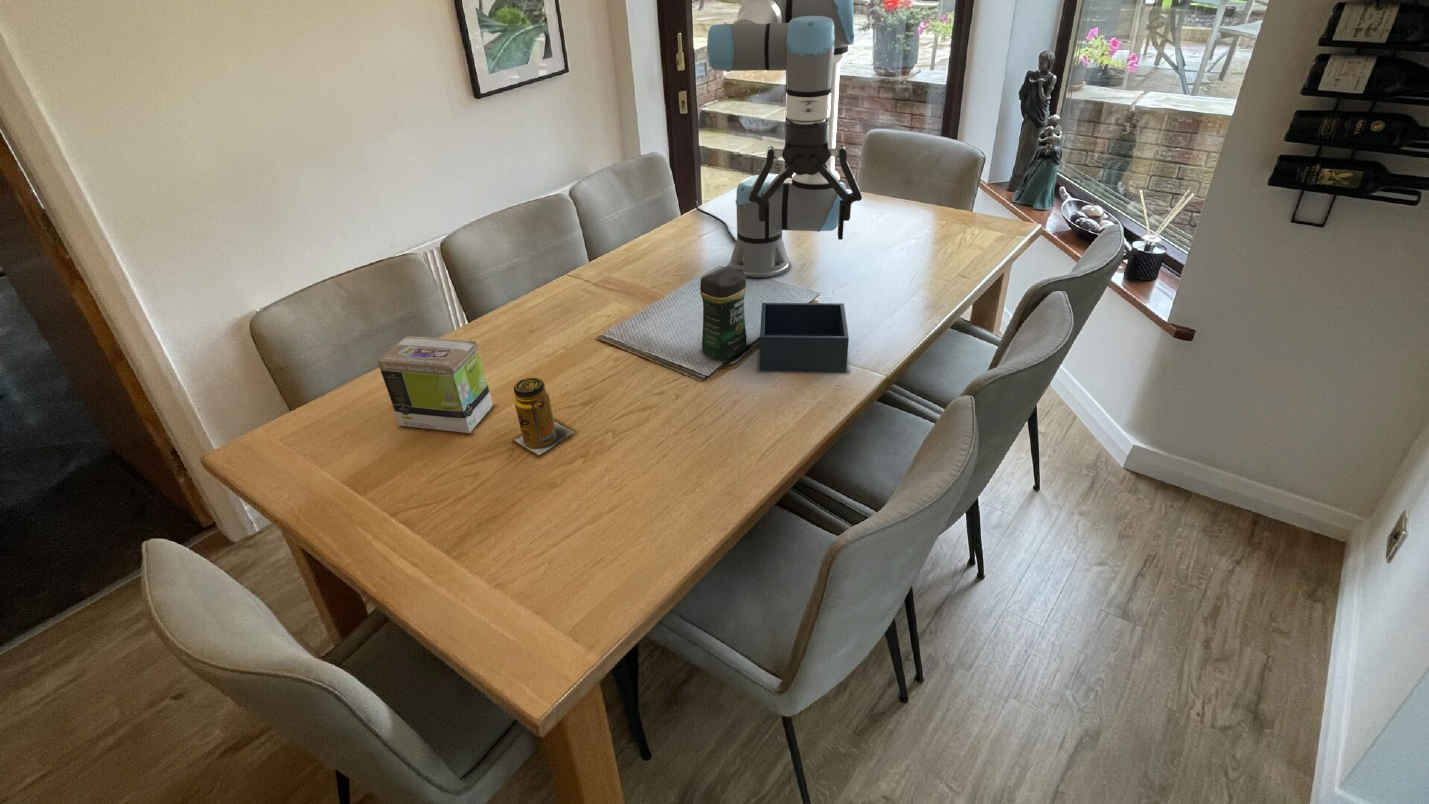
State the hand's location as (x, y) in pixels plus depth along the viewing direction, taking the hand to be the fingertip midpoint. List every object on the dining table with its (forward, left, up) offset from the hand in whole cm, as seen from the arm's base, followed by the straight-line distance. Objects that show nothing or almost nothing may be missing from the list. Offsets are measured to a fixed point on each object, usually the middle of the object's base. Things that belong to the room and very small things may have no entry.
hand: (803, 237), depth 137 cm
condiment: (+28, -47, -28) cm, 61 cm away
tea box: (+22, -68, -28) cm, 76 cm away
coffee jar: (-4, -16, -28) cm, 32 cm away
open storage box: (-4, +1, -28) cm, 28 cm away
